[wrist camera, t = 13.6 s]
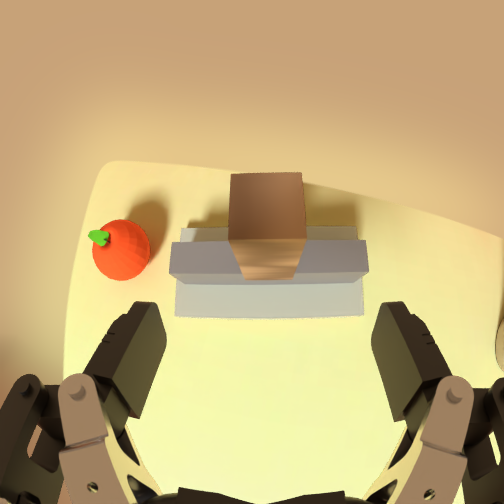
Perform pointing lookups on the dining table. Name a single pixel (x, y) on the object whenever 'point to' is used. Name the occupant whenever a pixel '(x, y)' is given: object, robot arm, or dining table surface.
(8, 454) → the robot arm
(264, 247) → the walnut post
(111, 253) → the clementine
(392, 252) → the dining table surface
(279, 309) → the ridge stand
